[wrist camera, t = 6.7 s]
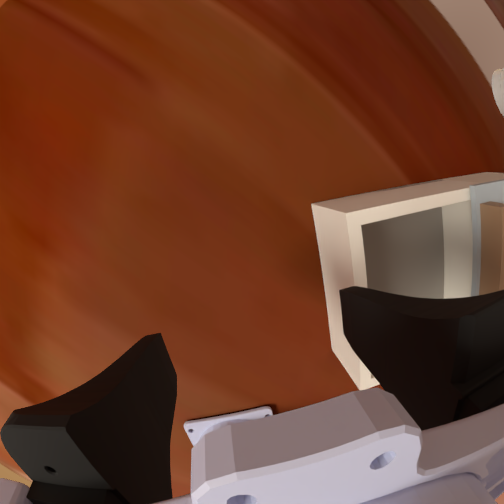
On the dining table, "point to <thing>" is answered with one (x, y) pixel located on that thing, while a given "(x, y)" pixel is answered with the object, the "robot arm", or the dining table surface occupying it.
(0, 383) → the dining table surface
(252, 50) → the dining table surface
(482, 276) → the lid
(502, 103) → the cup
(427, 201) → the carton
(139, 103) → the dining table surface
